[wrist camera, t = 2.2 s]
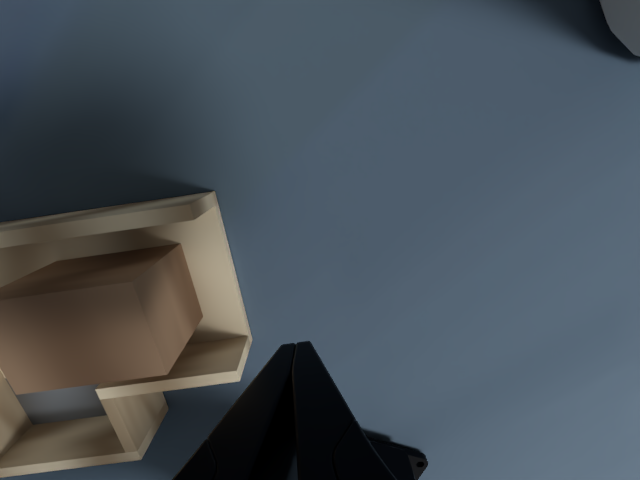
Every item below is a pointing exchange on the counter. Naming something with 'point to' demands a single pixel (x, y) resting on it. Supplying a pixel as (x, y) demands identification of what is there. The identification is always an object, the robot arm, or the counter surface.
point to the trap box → (136, 394)
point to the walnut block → (97, 319)
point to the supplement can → (624, 21)
